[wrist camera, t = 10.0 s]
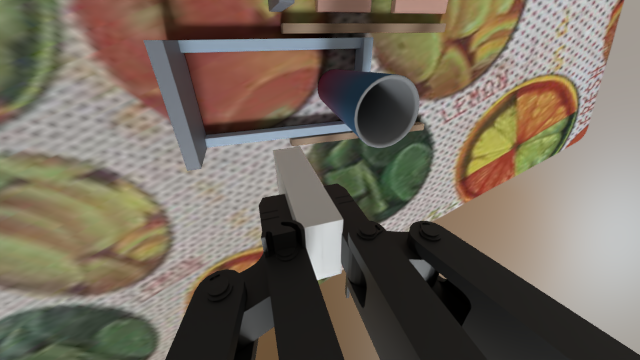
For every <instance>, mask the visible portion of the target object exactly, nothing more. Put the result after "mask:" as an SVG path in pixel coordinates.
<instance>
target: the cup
mask: <svg viewBox="0 0 640 360" xmlns="http://www.w3.org/2000/svg"><path fill="white" fill-rule="evenodd" d="M318 94H319V97H320V99H321V100H322V101H323V102H324V103H325V104H326V105H327V106H328V107H329V108H330V109H331V110H332V111H333V112H334V113H335V114H336V115H337V116H338V117H339V118H340V119H341V120H342V121H343V122H344V123H345V124H346V125H347V126H348V127H349V128H350V129H351V130H352V131H353V132H354V133H355V134H356V135H357V136H358V137H359V138H360V139H361V140H362V141H363V142H364V143H366V144H367V145H369V146H372V147H377V148H381V147H387V146H391V145H393V144H395V143H397V142H398V141H400V140H401V139H402V138H403V137H404V136H405V135H406V134H407V133H408V132H409V131H410V129H411V128H412V126H413V125H414V123H415V120H416V118H417V115H418V111H419V95H418V91H417V89H416V87H415V85H414V84H413V83H412V82H411V81H410V80H409V79H408V78H406V77H404V76H401V75H396V74H385V73H374V72H363V71H352V70H341V69H332V70H329V71H327V72H326V73H324V74H323V75H322V77H321V78H320V80H319V83H318Z"/></svg>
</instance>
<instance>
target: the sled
mask: <svg viewBox="0 0 640 360" xmlns="http://www.w3.org/2000/svg"><path fill="white" fill-rule="evenodd" d="M144 43H145V46H146V49H147V52H148V55H149V58H150V61H151V64H152V67H153V70H154V73H155V76H156V79H157V82H158V85H159V88H160V91H161V94H162V97H163V100H164V103H165V106H166V109H167V112H168V115H169V118H170V120H171V123H172V126H173V129H174V132H175V135H176V138H177V141H178V144H179V147H180V150H181V153H182V156H183V159H184V162H185V165H186V168H187V171H189V170H196V169H201V167H202V164H203V160H204V157H205V153H206V149H207V147H216V146H225V145H233V144H242V143H251V142H259V141H268V140H276V139H285V138H294V137H302V136H311V135H319V134H328V133H337V132H345V131H352V130H351V129H350V128H349V127H348V126H347V125H346V124H345V123H344V122H343V121H336V122H327V123H317V124H308V125H298V126H288V127H279V128H269V129H259V130H250V131H240V132H231V133H221V134H211V135H206V133H205V129H204V126H203V122H202V118H201V115H200V111H199V107H198V103H197V100H196V96H195V92H194V88H193V85H192V81H191V77H190V74H189V70H188V66H187V62H186V59H185V55H184V53H196V52H236V51H275V50H314V49H353V48H356V54H355V71H363V72H370V69H371V57H372V45H373V38H304V39H232V40H144Z"/></svg>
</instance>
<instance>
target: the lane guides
mask: <svg viewBox="0 0 640 360" xmlns="http://www.w3.org/2000/svg"><path fill="white" fill-rule="evenodd" d="M445 26H446V24H365V23H282V24H281V34H308V33H425V32H444V31H445ZM423 129H424V124H423V123H421V122H415V123H414V125H413V126H412V128H411V129H410V131H418V130H423ZM410 131H409V132H410ZM354 138H359V137H358V136H357V135H356V134H355V133H354V132H353V131H345V132H337V133H328V134H319V135H311V136H302V137H294V138H290V143H291V145H292V146H298V145H306V144H314V143H322V142H330V141H338V140H346V139H354Z"/></svg>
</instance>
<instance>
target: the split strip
mask: <svg viewBox="0 0 640 360" xmlns="http://www.w3.org/2000/svg"><path fill="white" fill-rule="evenodd" d="M315 2H316V12H342V13H369V12H371V0H315ZM268 3H269V11H271V12H281V11H283V10H284V9H286V8H287V7H289V6H290V5H292V4H294V0H268ZM447 3H448V0H392V5H391V13H414V14H443V13H445V12H446V7H447Z"/></svg>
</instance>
